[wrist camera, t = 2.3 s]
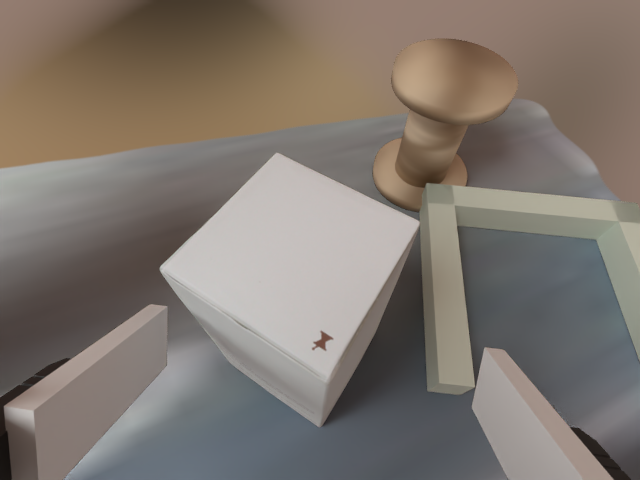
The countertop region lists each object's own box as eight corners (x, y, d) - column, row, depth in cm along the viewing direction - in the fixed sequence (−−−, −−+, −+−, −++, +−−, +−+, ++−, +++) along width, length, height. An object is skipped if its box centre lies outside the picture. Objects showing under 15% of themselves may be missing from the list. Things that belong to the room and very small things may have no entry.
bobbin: (371, 207, 30) (393, 105, 22) (373, 141, 34) (393, 34, 26) (467, 216, 30) (529, 117, 21) (458, 148, 34) (506, 43, 26)
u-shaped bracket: (427, 391, 22) (439, 383, 20) (418, 202, 31) (426, 182, 28) (694, 423, 22) (735, 418, 20) (613, 221, 30) (636, 203, 28)
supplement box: (379, 329, 25) (431, 221, 14) (320, 431, 21) (328, 393, 11) (291, 275, 27) (277, 145, 16) (224, 360, 23) (150, 268, 13)
